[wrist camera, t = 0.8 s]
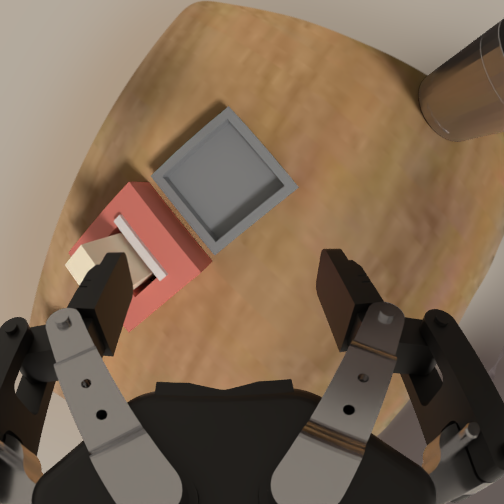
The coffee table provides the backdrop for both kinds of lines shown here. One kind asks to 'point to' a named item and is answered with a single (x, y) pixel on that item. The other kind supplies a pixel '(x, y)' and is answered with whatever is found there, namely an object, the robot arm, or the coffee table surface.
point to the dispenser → (149, 246)
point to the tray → (223, 180)
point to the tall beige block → (95, 253)
